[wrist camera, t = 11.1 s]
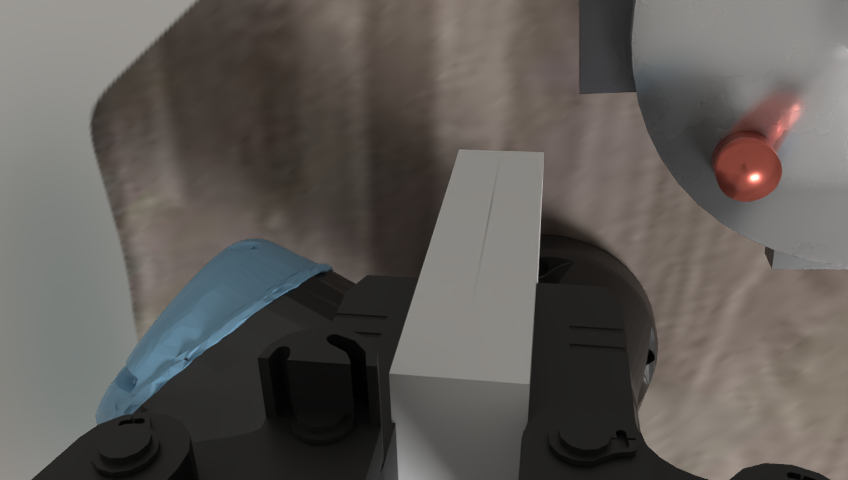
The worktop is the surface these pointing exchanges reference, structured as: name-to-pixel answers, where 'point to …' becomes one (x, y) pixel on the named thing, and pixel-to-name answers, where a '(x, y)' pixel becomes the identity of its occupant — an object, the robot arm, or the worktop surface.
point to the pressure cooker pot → (612, 73)
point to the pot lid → (752, 113)
